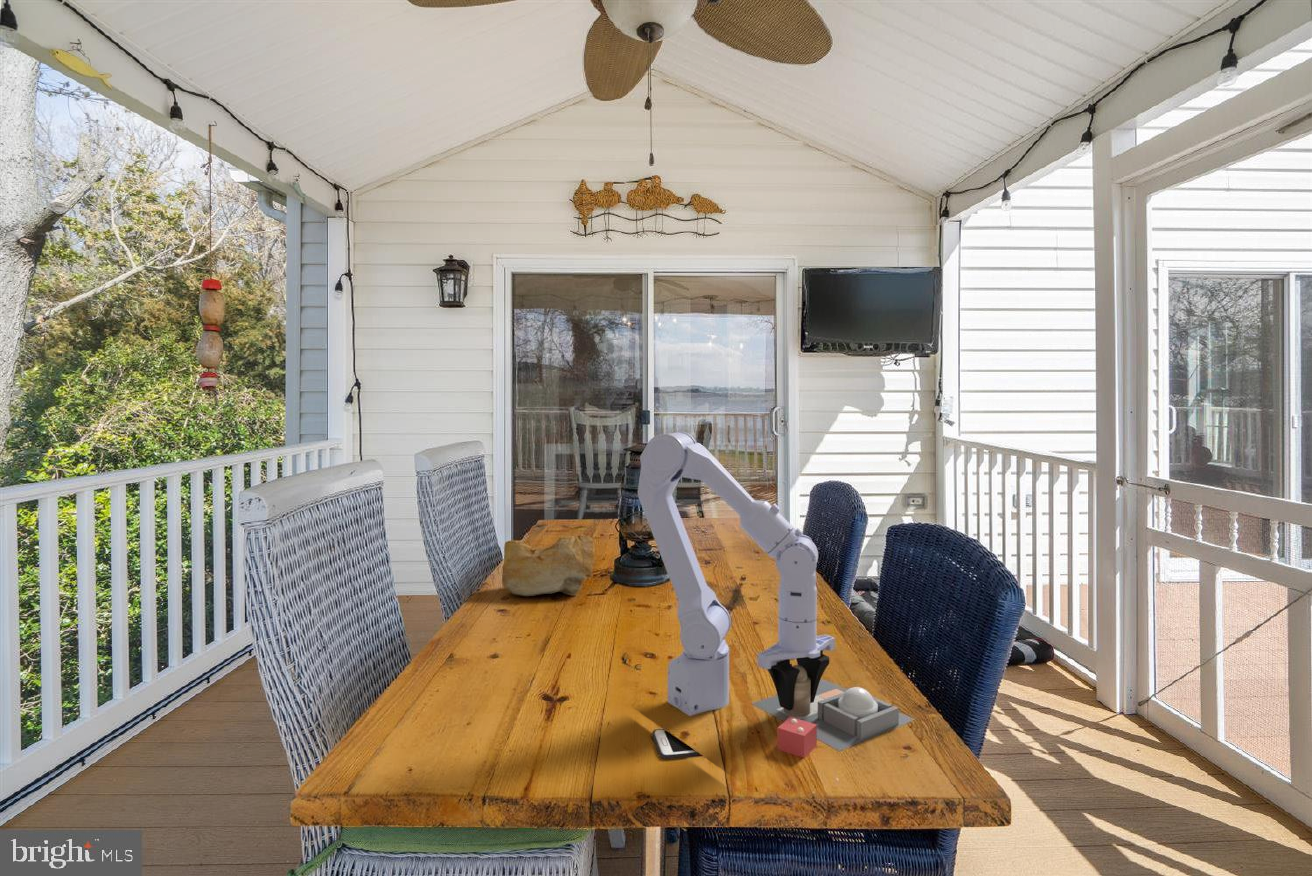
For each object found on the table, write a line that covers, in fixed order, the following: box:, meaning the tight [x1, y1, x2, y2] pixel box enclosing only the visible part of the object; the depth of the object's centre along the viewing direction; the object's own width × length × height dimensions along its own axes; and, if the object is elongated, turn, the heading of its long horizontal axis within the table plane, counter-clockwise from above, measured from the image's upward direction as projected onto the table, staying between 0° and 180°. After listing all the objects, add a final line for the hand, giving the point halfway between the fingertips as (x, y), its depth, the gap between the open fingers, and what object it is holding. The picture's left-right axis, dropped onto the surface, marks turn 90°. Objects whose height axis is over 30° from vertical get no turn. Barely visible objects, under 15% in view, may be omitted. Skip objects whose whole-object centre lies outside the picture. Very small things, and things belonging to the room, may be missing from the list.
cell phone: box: [651, 728, 704, 761], centre depth 101 cm, size 8×15×1 cm, turn 101°
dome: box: [838, 686, 878, 720], centre depth 104 cm, size 6×6×5 cm
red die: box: [776, 717, 818, 759], centre depth 97 cm, size 4×4×4 cm
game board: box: [751, 679, 916, 752], centre depth 108 cm, size 16×18×4 cm
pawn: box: [784, 664, 811, 717], centre depth 108 cm, size 4×4×7 cm
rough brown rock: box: [501, 534, 595, 597], centre depth 179 cm, size 23×17×15 cm
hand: (796, 704), depth 108 cm, fingers closed on pawn, 4 cm apart
